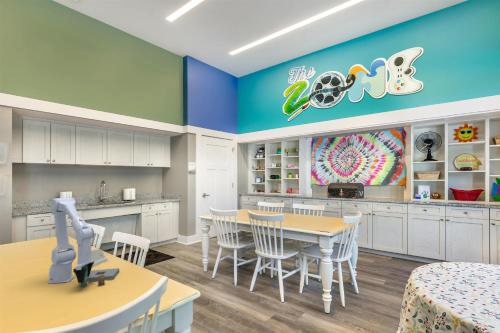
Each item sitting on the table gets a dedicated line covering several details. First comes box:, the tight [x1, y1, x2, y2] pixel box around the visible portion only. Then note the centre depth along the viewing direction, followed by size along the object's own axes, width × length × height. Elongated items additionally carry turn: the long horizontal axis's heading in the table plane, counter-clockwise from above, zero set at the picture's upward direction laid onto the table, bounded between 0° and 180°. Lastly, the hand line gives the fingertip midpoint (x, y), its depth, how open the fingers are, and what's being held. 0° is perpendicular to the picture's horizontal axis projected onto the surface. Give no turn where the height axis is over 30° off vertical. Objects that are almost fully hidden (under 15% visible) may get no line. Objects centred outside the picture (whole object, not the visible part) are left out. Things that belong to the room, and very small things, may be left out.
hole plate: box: [87, 267, 120, 283], centre depth 142 cm, size 16×12×2 cm
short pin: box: [97, 275, 106, 287], centre depth 131 cm, size 3×3×4 cm
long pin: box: [80, 266, 88, 289], centre depth 129 cm, size 3×3×10 cm
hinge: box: [91, 248, 109, 268], centre depth 162 cm, size 17×5×10 cm, turn 167°
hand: (83, 279), depth 129 cm, fingers open, 7 cm apart
